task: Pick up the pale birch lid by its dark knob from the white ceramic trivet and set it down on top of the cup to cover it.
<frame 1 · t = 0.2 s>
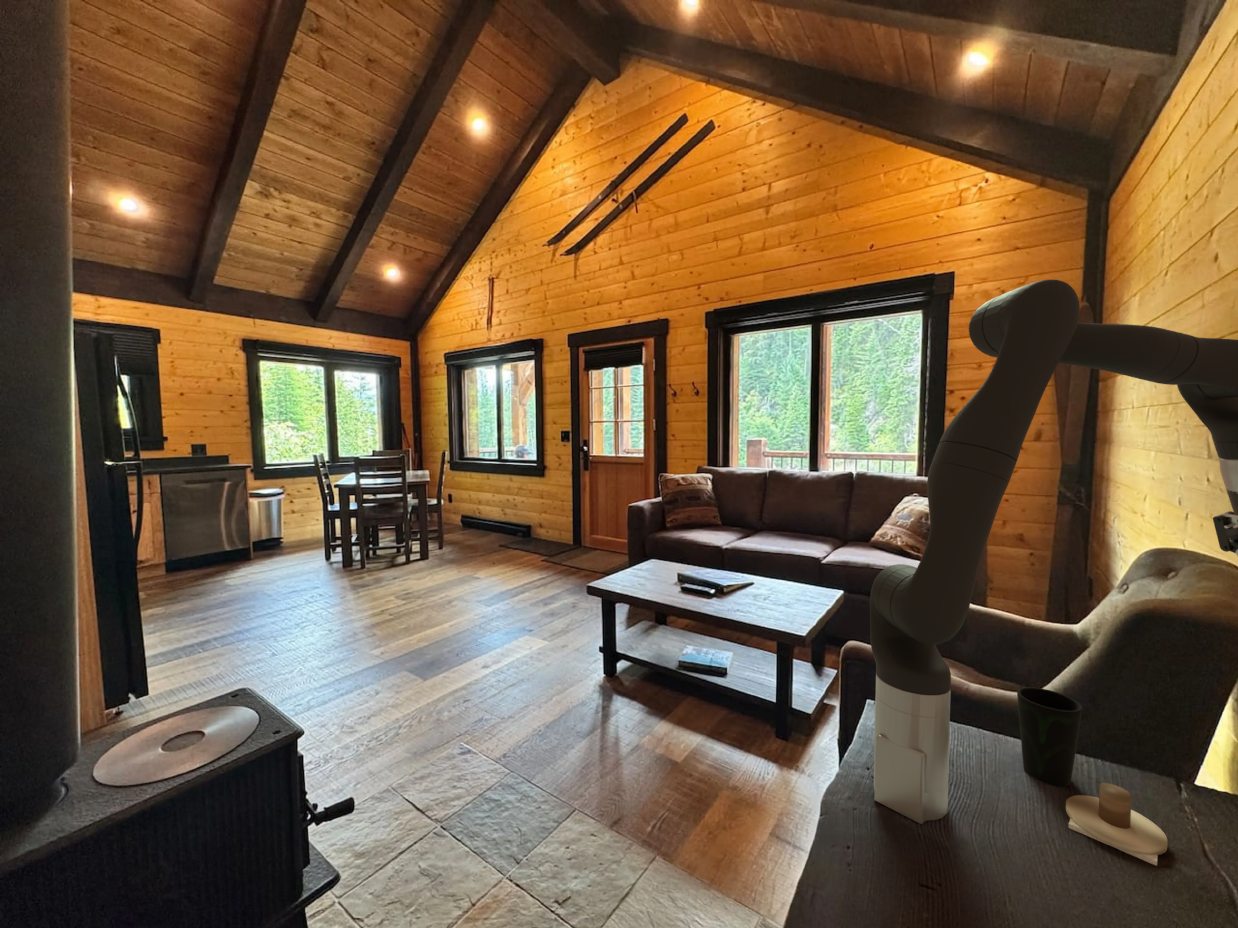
lid: (1113, 825, 66), point 1 cm above the table, touching trivet
cup: (1046, 775, 77), on the table
trivet: (1113, 830, 66), on the table
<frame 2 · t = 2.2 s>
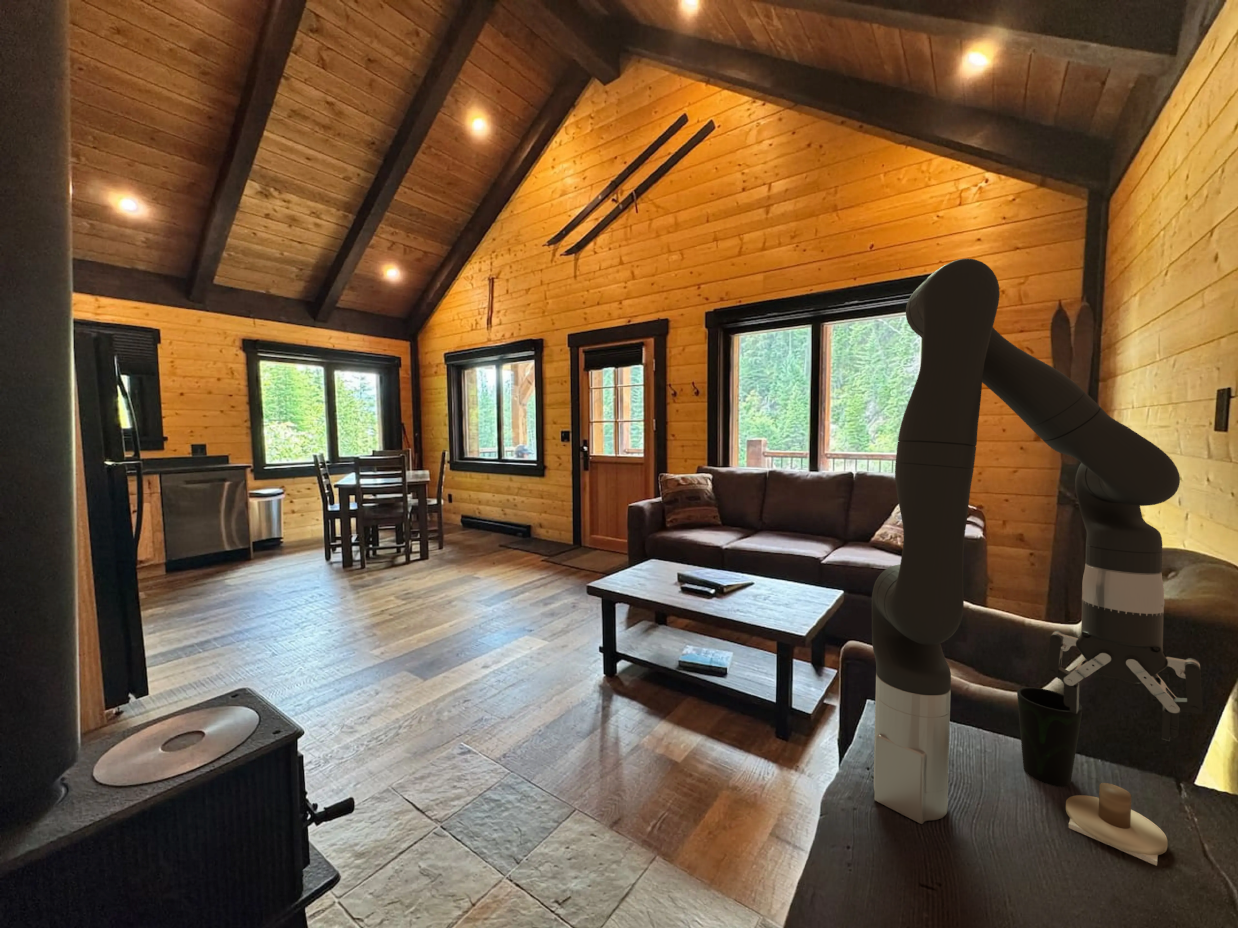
hand: (1118, 723, 65), 14 cm above the table, tool pointing down, fingers open, 8 cm apart
nothing on the table moved.
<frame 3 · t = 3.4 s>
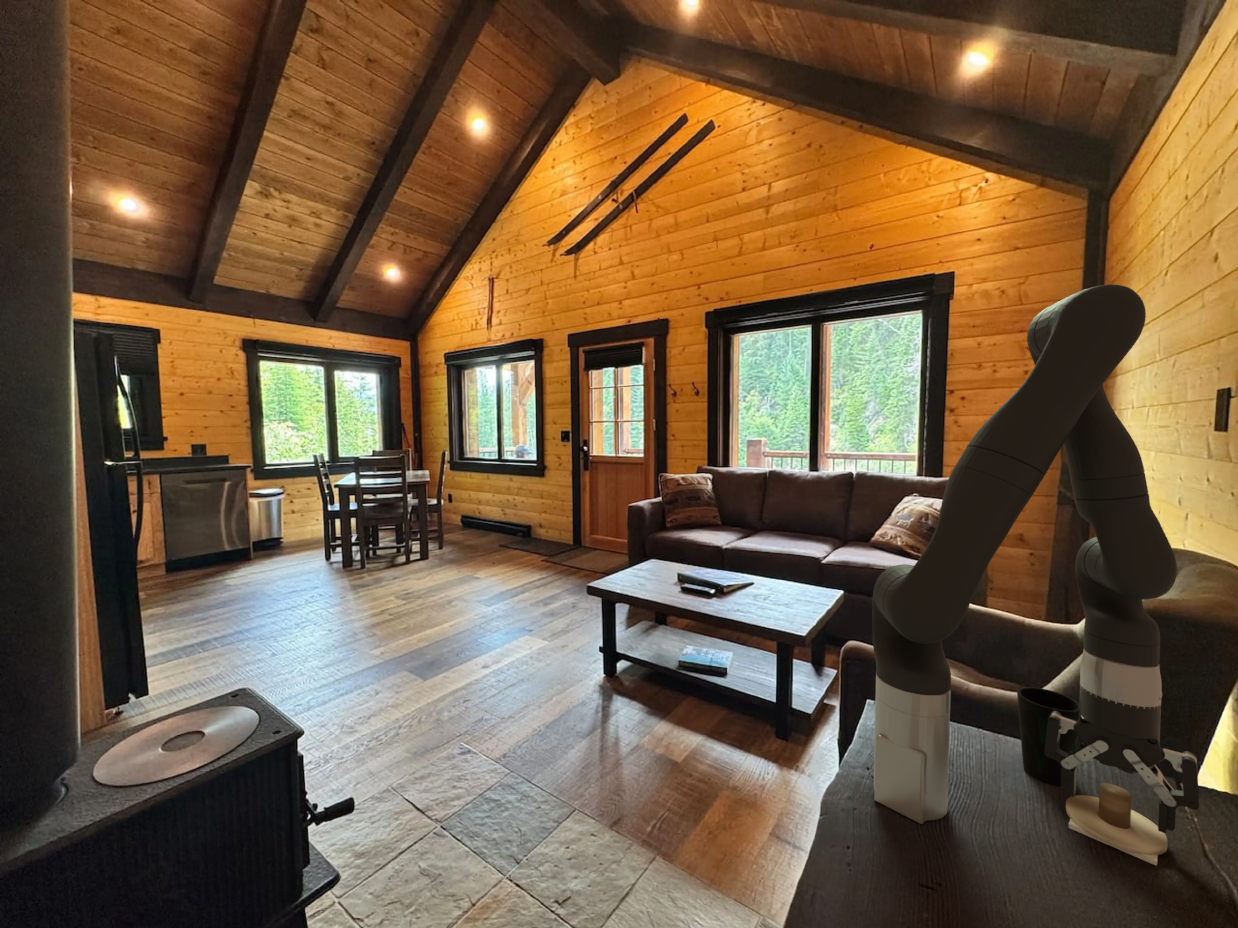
hand: (1114, 810, 66), 3 cm above the table, tool pointing down, fingers open, 8 cm apart
nothing on the table moved.
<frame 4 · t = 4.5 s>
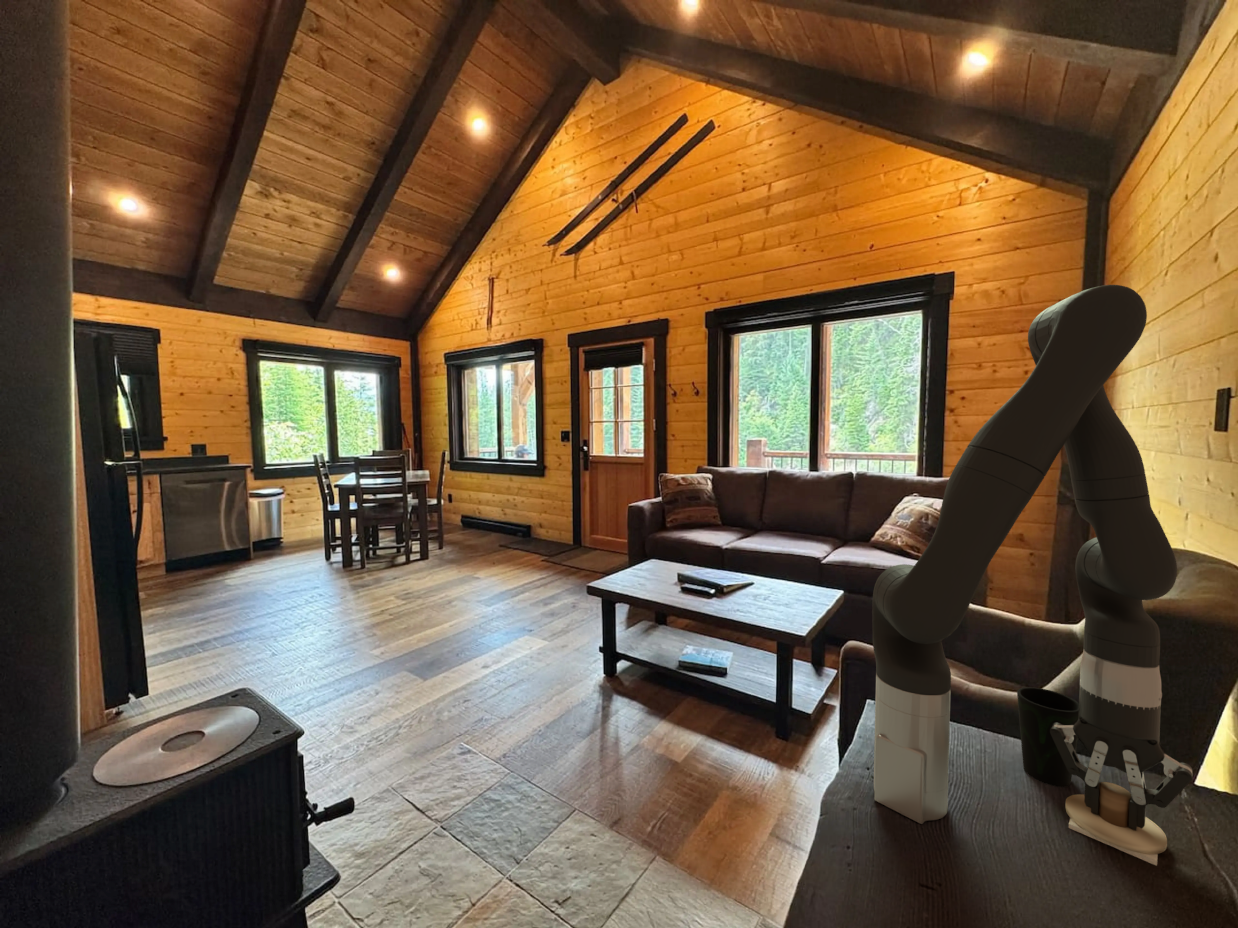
hand: (1114, 818, 66), 2 cm above the table, tool pointing down, fingers closed on lid, 3 cm apart
lid: (1113, 824, 66), point 1 cm above the table, touching gripper
everything else where it was.
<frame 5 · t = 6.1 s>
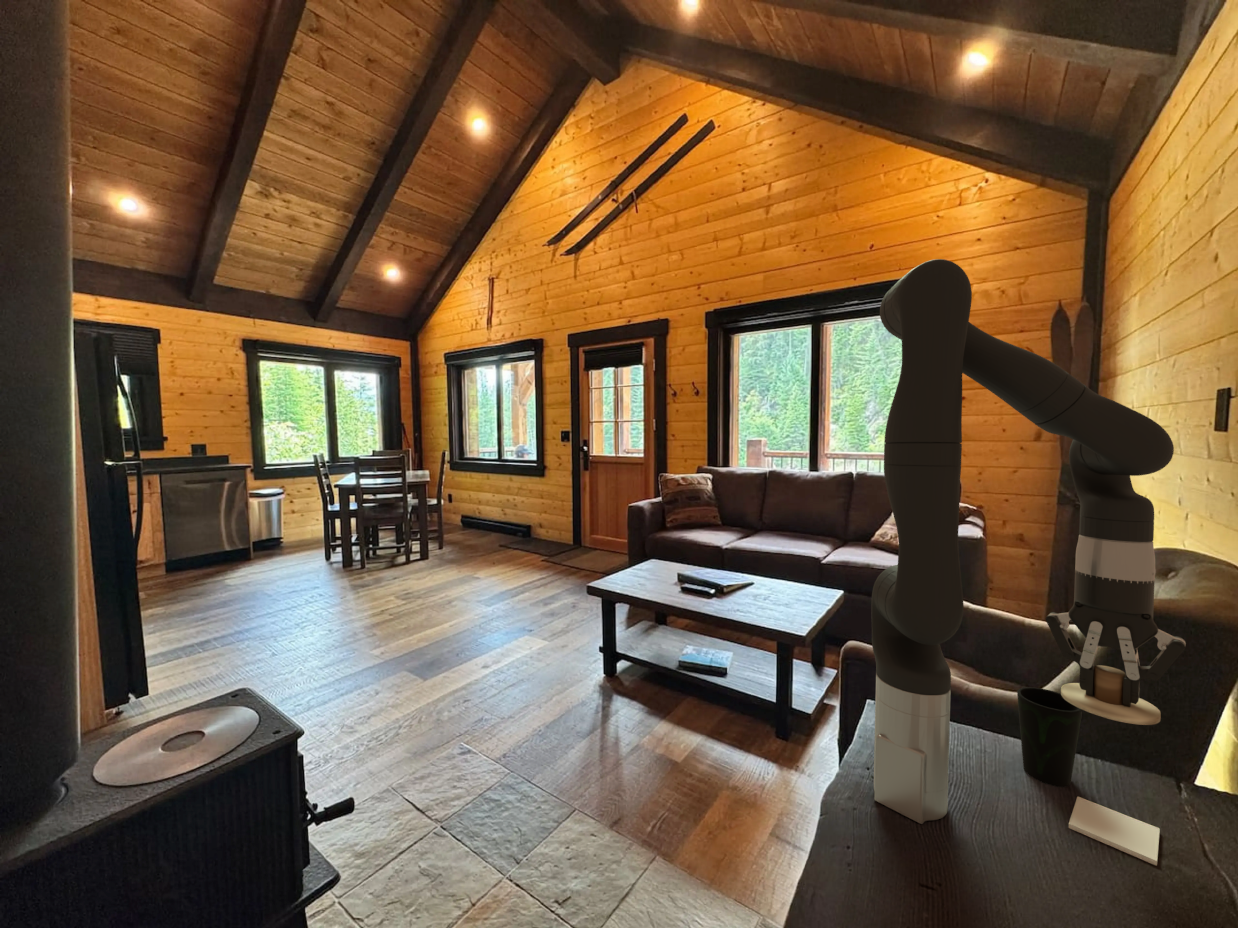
hand: (1108, 698, 67), 17 cm above the table, tool pointing down, fingers closed on lid, 3 cm apart
lid: (1108, 705, 67), point 16 cm above the table, touching gripper
everything else where it was.
when the fingers open (15 cm above the table, at t = 7.8 s): lid drops 2 cm, resting on cup.
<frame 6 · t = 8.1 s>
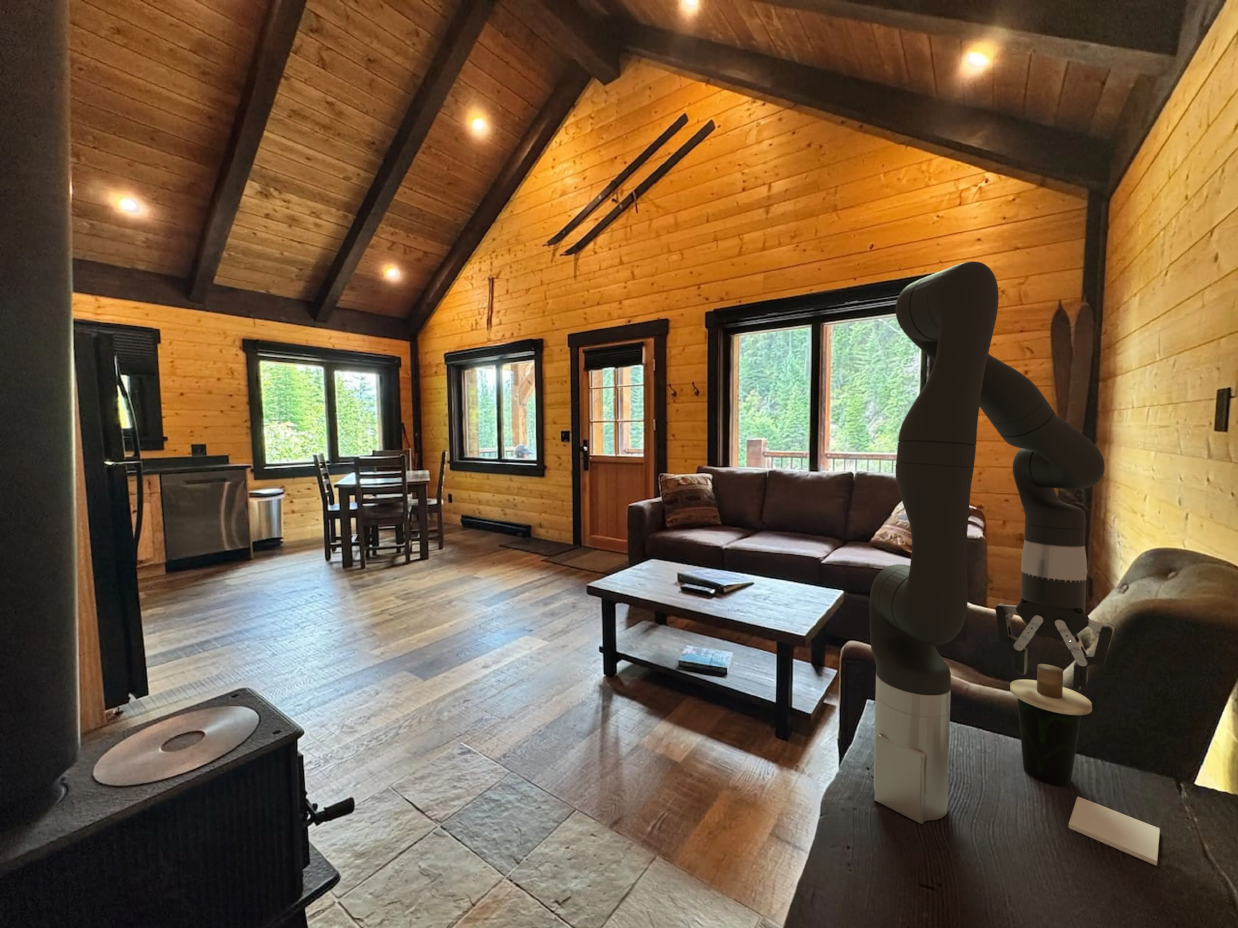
hand: (1049, 679, 77), 15 cm above the table, tool pointing down, fingers open, 6 cm apart
lid: (1049, 698, 77), point 12 cm above the table, touching cup
cup: (1046, 775, 77), on the table, touching lid
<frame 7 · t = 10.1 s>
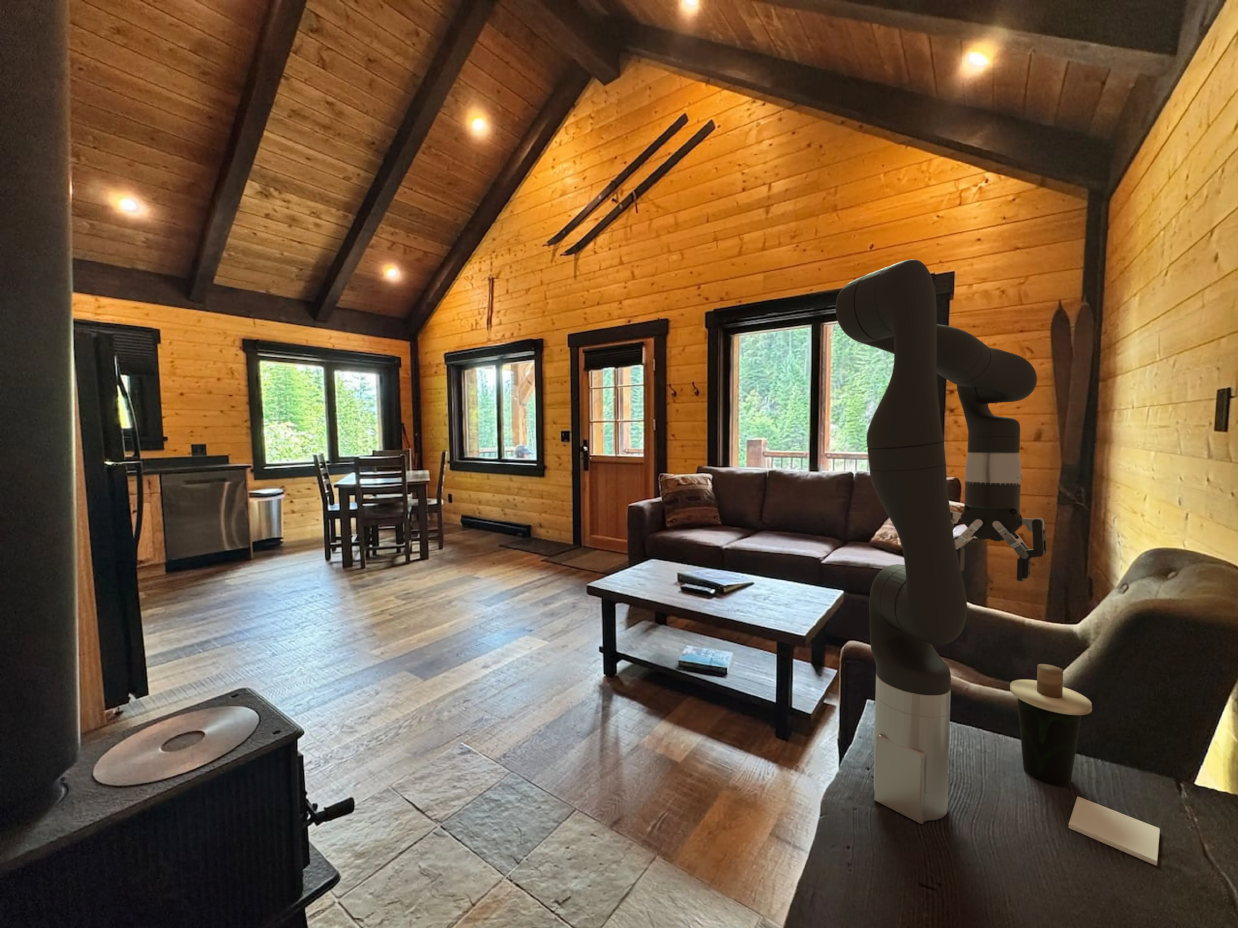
hand: (989, 575, 84), 29 cm above the table, tool pointing down, fingers open, 8 cm apart
nothing on the table moved.
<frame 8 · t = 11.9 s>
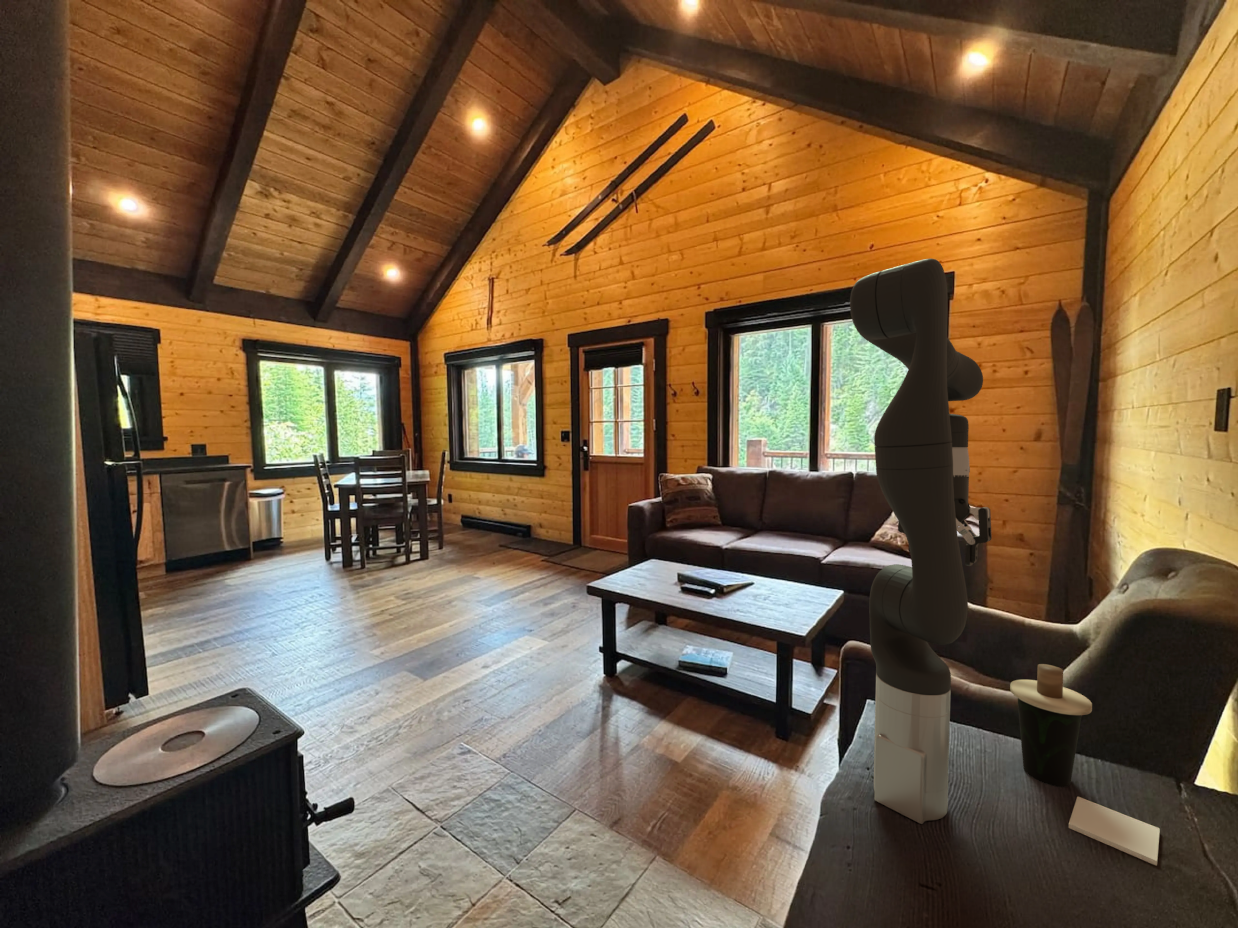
hand: (941, 560, 91), 30 cm above the table, tool pointing down, fingers open, 8 cm apart
nothing on the table moved.
at the end: lid 0.1 cm off-centre on the cup, point 12.2 cm above the cup's base; cup tilted 0°; the gripper is holding nothing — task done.
